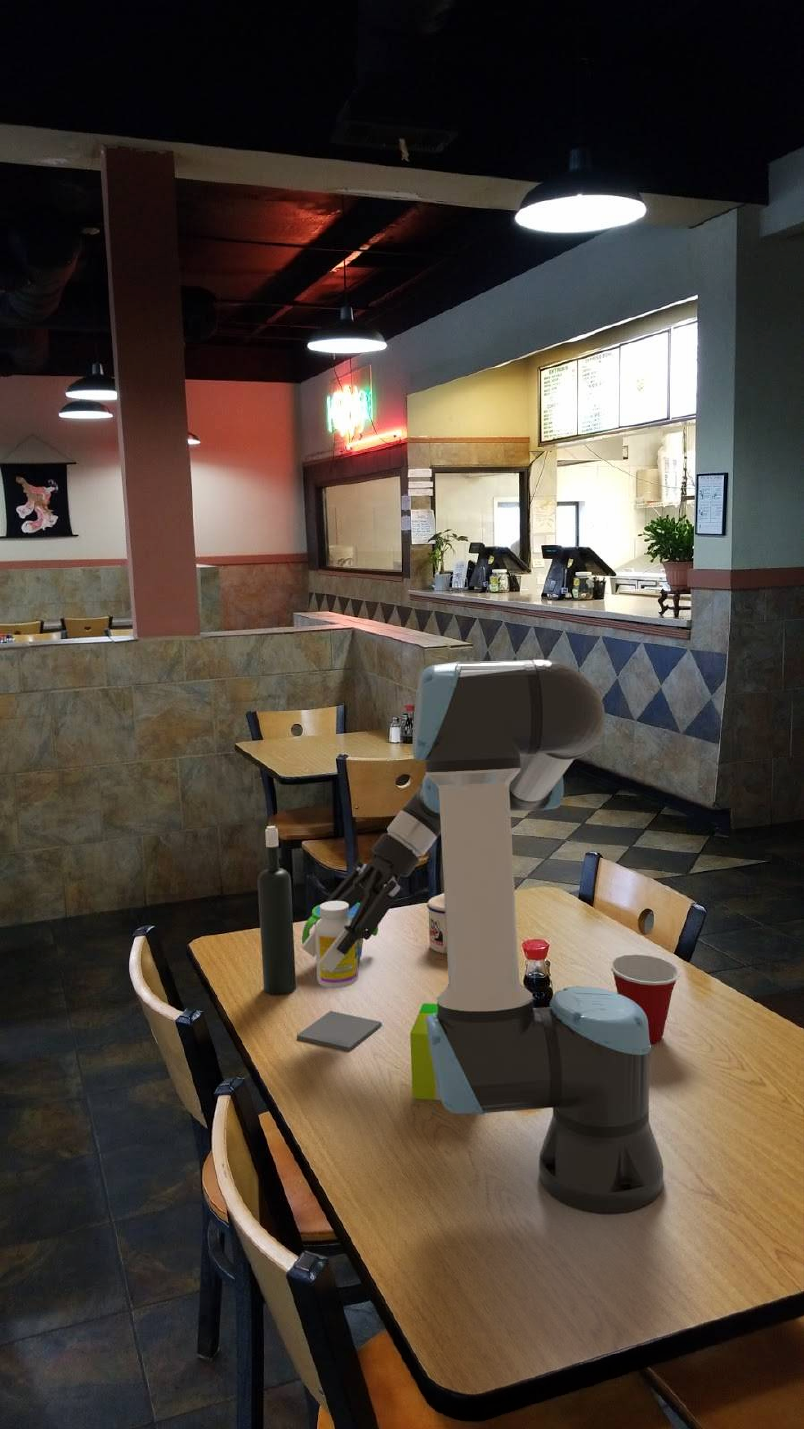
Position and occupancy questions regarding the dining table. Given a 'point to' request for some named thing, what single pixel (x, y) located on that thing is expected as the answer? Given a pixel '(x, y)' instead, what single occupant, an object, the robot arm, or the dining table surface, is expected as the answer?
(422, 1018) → the puzzle toy
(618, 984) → the plastic cup
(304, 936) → the snack cup
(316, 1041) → the coaster
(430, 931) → the teacup with lid
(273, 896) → the wine bottle
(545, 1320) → the dining table surface
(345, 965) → the supplement bottle
